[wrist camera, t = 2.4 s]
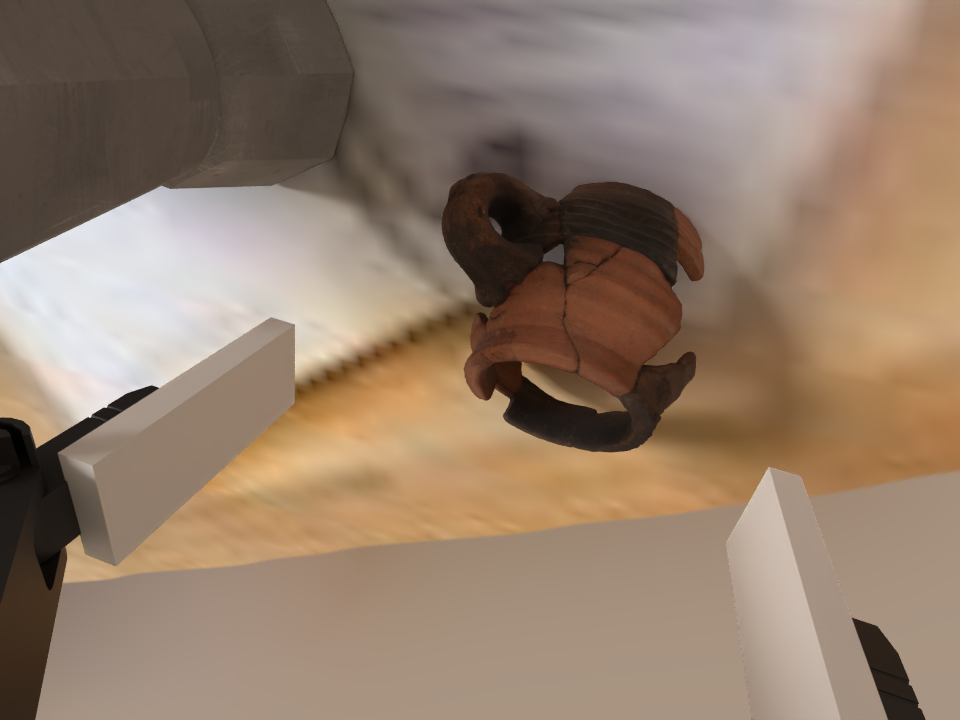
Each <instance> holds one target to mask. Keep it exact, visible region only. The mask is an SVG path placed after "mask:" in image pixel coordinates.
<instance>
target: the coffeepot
mask: <svg viewBox="0 0 960 720" xmlns="http://www.w3.org/2000/svg"><path fill="white" fill-rule="evenodd" d="M353 76H354V71H353V68H352V65H351V62H350V60H349V57H348V54H347V51H346V48H345V45H344V42H343V39H342V36H341V33H340V30H339V27H338V25H337V23H336V21H335V19H334V17H333V15H332V13H331V11H330V9H329V7H328V5H327V3H326V2H325V0H0V263H1V262H3V261H6V260H8V259H10V258H12V257H14V256H16V255H18V254H20V253H22V252H24V251H26V250H29V249H31V248H33V247H35V246H37V245H39V244H41V243H43V242H45V241H47V240H49V239H51V238H54V237H56V236H58V235H60V234H62V233H64V232H66V231H68V230H70V229H72V228H74V227H77V226H79V225H81V224H83V223H85V222H87V221H89V220H91V219H93V218H95V217H97V216H99V215H102V214H104V213H106V212H108V211H110V210H112V209H114V208H116V207H118V206H120V205H122V204H125V203H127V202H129V201H131V200H133V199H135V198H137V197H139V196H141V195H143V194H145V193H147V192H150V191H152V190H154V189H155V188H157V187H159V186H164V187H167V188H170V189H178V188H210V187H241V186H271V185H274V184H276V183H278V182H280V181H283V180H285V179H287V178H289V177H292V176H294V175H296V174H299V173H301V172H303V171H305V170H307V169H309V168H312V167H314V166H316V165H318V164H321V163H323V162H325V161H327V160H330V159H332V158H333V156H334V153H335V150H336V146H337V143H338V140H339V136H340V133H341V131H342V128H343V125H344V122H345V119H346V117H347V111H348V104H349V98H350V88H351V84H352V80H353Z"/></svg>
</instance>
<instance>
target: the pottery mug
mask: <svg viewBox="0 0 960 720" xmlns="http://www.w3.org/2000/svg"><path fill="white" fill-rule="evenodd" d="M489 217H491V218H493V219H495V220H496V221H497V222H498V224H499V225H500V227H501V230H502V233H501V235H500V234H499V233H498V232H497V231H496V230H495V229H494V227H493V226H492V224H491V222H490V219H489ZM442 232H443V237H444V241H445V243H446V246H447V248H448V250H449V252H450V254H451V255H452V257H453V258H454V260H455V261H456V262H457V263H458V264H459V265H460V267H461V268H462V269H463V270H464V271H465V273H466V274H467V275H468V276H469V278H470V279H471V280H472V282H473V283H474V285H475V294H476V298H477V300H478V302H479V303H480V304H481V305H483V306H485V307H493V306H494V309H493V311H492V313H491V314H490V316H489V318H490V319H489V320H488V318H487V316H486V315H485V314H484V313H481V312H478V313H477V314H476V316H475V318H474V321H473V324H472V331H471V336H470V341H471V348H472V351H473V352H472V354H471V355H470V356H469V358H468V359H467V361H466V363H465V367H464V372H465V378H466V382H467V384H468V386H469V387H470V389H471V391H472V392H473V393H474V395H476V397H478V398H479V399H483V400H489V399H490V398H491V396H492V394H493V391H494V389H496V390H498V391H499V392H501V393H502V394H504V395H505V396H507V397H508V398H510V403H509V406H508V408H507V409H506V411H505V413H504V414H503V417H504V419H505V421H506V422H508V423H509V424H511V425H513V426H515V427H516V428H518V429H520V430H522V431H524V432H526V433H529V434H531V435H533V436H535V437H537V438H540V439H543V440H546V441H549V442H552V443H555V444H558V445H562V446H567V447H575V448H577V449H582V450H588V451H591V452H598V451H600V452H620V451H628V450H631V449H634V448H638V447H639V446H640V445H642V444H643V443H645V441H647V440H648V438H649V437H650V436H652V432H653V430H654V429H655V428H656V425H657V423H658V422H659V421H660V419H661V416H660V415H661V414H662V413H663V412H664V410H665V409H666V408H668V407H669V406H670V405H671V404H672V403H673V402H674V401H676V400H677V398H678V397H679V396H680V394H681V392H682V390H683V388H684V387H685V386H686V385H687V383H688V382H689V381H691V380H692V378H693V377H694V375H695V368H696V356H695V354H694V352H687V353H685V354H684V355H683V356H682V357H681V358H680V359H679V360H678V361H677V362H676V363H669V364H667V365H660V366H652V365H643V364H644V363H645V362H646V361H647V360H649V359H651V358H652V357H653V356H655V355H656V354H657V352H658V350H659V349H661V348H662V347H664V346H665V345H666V344H667V343H668V342H669V341H670V339H671V338H672V337H673V336H674V335H675V334H676V333H677V332H678V331H679V330H680V328H681V317H682V304H681V302H680V301H679V299H678V298H677V296H676V294H675V293H674V292H673V290H672V289H671V288H672V286H673V285H675V283H676V275H677V265H676V260H678V261H679V263H680V264H681V265H682V267H683V268H684V270H685V272H686V273H687V275H688V277H689V278H690V280H691V281H698V280H700V279H701V278H702V277H703V274H704V262H703V255H702V252H701V248H702V244H701V239H700V237H699V235H698V233H697V231H696V229H695V228H694V226H693V225H692V224H691V222H690V221H689V219H688V218H687V217H686V216H685V215H683V214H682V213H681V212H680V211H679V210H678V209H677V208H675V207H674V206H673V205H672V204H671V203H670V202H668V201H667V200H665V199H663V198H661V197H659V196H657V195H655V194H653V193H652V192H651V191H648V190H646V189H641V188H638V187H634V186H631V185H629V184H623V183H617V182H605V183H592V184H585V185H580V186H578V187H576V188H575V189H574V190H573V192H571V194H569V195H567V196H566V197H564V199H563V200H560V201H559V202H557V201H556V200H555V199H553V198H549V197H544V196H542V195H540V194H538V193H537V192H535V191H533V190H532V189H530V188H529V187H527V186H526V185H525V184H523V183H522V182H521V181H519V180H517V179H515V178H514V177H511V176H509V175H506V174H502V173H477V174H471V175H469V176H467V177H466V178H465V179H462V180H459V181H458V182H457V183H455V184H454V185H453V186H452V187H451V189H450V192H449V198H448V203H447V205H446V208H445V209H444V212H443V217H442ZM559 244H563V246H564V253H565V255H564V265H559V264H557V263H554V262H550V261H547V262H542V259H543V255H544V254H546V253H547V252H549V251H550V250H552V249H553V248H554V247H556V246H558V245H559ZM521 362H531V363H538V364H543V365H547V366H553V367H556V368H559V369H561V370H565V371H568V372H573V373H577V374H578V375H579V376H581V377H582V378H585V379H587V380H589V381H591V382H593V383H594V384H596V385H598V386H600V387H601V388H603V389H604V390H606V391H608V392H609V393H610V394H611V395H613V396H615V397H617V398H619V400H620V401H621V403H622V404H623V406H624V407H625V408H626V409H627V411H628V412H621V411H613V412H605V413H597V411H596V410H595V409H592V408H589V407H586V406H579V405H574V404H569V403H566V402H563V401H559V400H557V399H555V398H553V397H552V396H550V395H548V394H546V393H545V392H544V391H542V390H541V389H540V388H539V387H537V386H536V385H535V384H533V383H532V382H530V381H529V380H528V379H527V378H526V377H524V376H523V375H522V372H521V366H522V363H521Z"/></svg>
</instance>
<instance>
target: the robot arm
mask: <svg viewBox="0 0 960 720" xmlns="http://www.w3.org/2000/svg"><path fill="white" fill-rule="evenodd" d="M294 403H295V324H291V323H288V322H285V321H281V320H278V319H275V318H269V319H268V320H266V321H264V322H263V323H261V324H260V325H258V326H257V327H255V328H253V329H252V330H250V331H249V332H247V333H246V334H244V335H242V336H241V337H239V338H238V339H236V340H235V341H233V342H231V343H230V344H228V345H227V346H225V347H224V348H222V349H220V350H219V351H217V352H216V353H214V354H213V355H211V356H209V357H208V358H206V359H205V360H203V361H202V362H200V363H198V364H197V365H195V366H194V367H192V368H191V369H189V370H187V371H186V372H184V373H183V374H181V375H180V376H178V377H176V378H175V379H173V380H172V381H170V382H169V383H167V384H165V385H164V386H162V387H161V388H158V387H155V386H152V385H151V386H148V387H145V388H142V389H139V390H136V391H133V392H130V393H127V394H125V395H124V396H122V397H120V398H119V399H117V400H115V401H114V402H112V403H111V404H109V405H108V407H107V408H102V409H101V410H99V411H97V412H96V413H94V414H92V417H91V418H89V417H87V418H86V419H84V420H82V421H81V422H79V423H78V424H76V425H74V426H73V427H71V428H69V429H68V430H66V431H64V432H63V433H61V434H59V435H58V436H56V437H54V438H53V439H51V440H50V441H48V442H46V443H45V444H43V445H41V446H40V447H38V448H36V446H35V443H34V439H33V436H32V433H31V429H30V426H28V425H27V424H26V423H25V422H24V421H22V420H18V419H14V418H0V720H35V718H36V713H37V708H38V702H39V698H40V693H41V688H42V683H43V677H44V672H45V668H46V663H47V658H48V652H49V647H50V642H51V637H52V632H53V627H54V622H55V617H56V612H57V607H58V602H59V596H60V592H61V587H62V582H63V577H64V572H65V567H66V562H67V552H66V547H65V546H66V545H67V544H69V543H70V542H71V541H72V540H74V539H75V538H76V537H77V536H79V535H80V537H81V540H82V544H83V547H84V551H85V554H86V555H89V556H91V557H94V558H96V559H99V560H101V561H104V562H106V563H109V564H111V565H114V566H117V565H118V564H119V563H120V562H122V561H123V560H124V559H125V558H126V557H127V556H128V555H129V554H130V553H131V552H132V551H134V550H135V549H136V548H137V547H138V546H139V545H140V544H141V543H142V542H143V541H144V540H146V539H147V538H148V537H149V536H150V535H151V534H152V533H153V532H154V531H155V530H157V529H158V528H159V527H160V526H161V525H162V524H163V523H164V522H165V521H166V520H167V519H169V518H170V517H171V516H172V515H173V514H174V513H175V512H176V511H177V510H178V509H179V508H181V507H182V506H183V505H184V504H185V503H186V502H187V501H188V500H189V499H190V498H192V497H193V496H194V495H195V494H196V493H197V492H198V491H199V490H200V489H201V488H202V487H204V486H205V485H206V484H207V483H208V482H209V481H210V480H211V479H212V478H213V477H214V476H216V475H217V474H218V473H219V472H220V471H221V470H222V469H223V468H224V467H225V466H227V465H228V464H229V463H230V462H231V461H232V460H233V459H234V458H235V457H236V456H237V455H239V454H240V453H241V452H242V451H243V450H244V449H245V448H246V447H247V446H248V445H249V444H251V443H252V442H253V441H254V440H255V439H256V438H257V437H258V436H259V435H260V434H262V433H263V432H264V431H265V430H266V429H267V428H268V427H269V426H270V425H271V424H272V423H274V422H275V421H276V420H277V419H278V418H279V417H280V416H281V415H282V414H283V413H284V412H286V411H287V410H288V409H289V408H290V407H291V406H292V405H293V404H294ZM726 548H727V554H728V561H729V568H730V575H731V582H732V589H733V596H734V602H735V609H736V616H737V622H738V630H739V637H740V643H741V650H742V657H743V664H744V670H745V678H746V684H747V691H748V698H749V705H750V712H751V719H752V720H925V717H924V715H923V713H922V710H921V709H920V708H918V704H919V703H918V700H917V698H916V695H915V693H914V691H913V688H912V686H910V685H909V679H908V676H907V674H906V671H905V669H904V666H903V664H902V662H901V659H900V657H899V654H898V653H897V651H896V650H895V649H894V648H893V646H892V645H891V643H890V642H889V641H888V640H887V638H886V637H885V636H884V634H883V633H882V632H881V630H880V629H879V628H878V627H877V626H875V625H872V624H869V623H866V622H863V621H860V620H857V619H854V618H851V615H850V612H849V609H848V607H847V604H846V601H845V598H844V595H843V592H842V590H841V587H840V584H839V581H838V578H837V576H836V573H835V570H834V567H833V565H832V562H831V559H830V556H829V553H828V550H827V547H826V545H825V542H824V539H823V536H822V533H821V531H820V528H819V525H818V522H817V520H816V517H815V514H814V511H813V508H812V506H811V503H810V500H809V497H808V494H807V491H806V489H805V486H804V483H803V480H802V477H801V476H799V475H795V474H792V473H789V472H785V471H782V470H779V469H775V468H772V467H768V469H767V471H766V473H765V475H764V476H763V478H762V480H761V482H760V483H759V485H758V487H757V489H756V491H755V492H754V494H753V496H752V498H751V499H750V501H749V503H748V505H747V507H746V508H745V510H744V512H743V514H742V516H741V517H740V519H739V521H738V523H737V524H736V526H735V528H734V530H733V531H732V533H731V535H730V537H729V539H728V540H727V542H726Z"/></svg>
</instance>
